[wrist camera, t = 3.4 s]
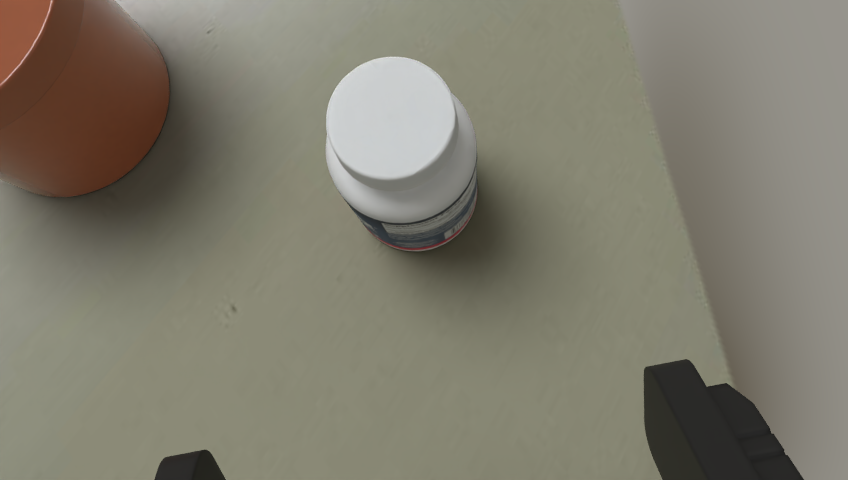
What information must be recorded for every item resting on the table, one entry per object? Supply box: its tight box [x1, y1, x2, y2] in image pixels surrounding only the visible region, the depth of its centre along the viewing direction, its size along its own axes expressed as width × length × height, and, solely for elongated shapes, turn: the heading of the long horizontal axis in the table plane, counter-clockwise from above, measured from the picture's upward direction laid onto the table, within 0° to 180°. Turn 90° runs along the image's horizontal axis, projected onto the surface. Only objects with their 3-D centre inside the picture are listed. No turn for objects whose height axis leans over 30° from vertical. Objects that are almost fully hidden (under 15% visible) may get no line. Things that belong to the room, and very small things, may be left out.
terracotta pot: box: [0, 0, 170, 197], centre depth 27 cm, size 10×10×9 cm
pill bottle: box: [326, 57, 478, 251], centre depth 24 cm, size 5×5×9 cm
